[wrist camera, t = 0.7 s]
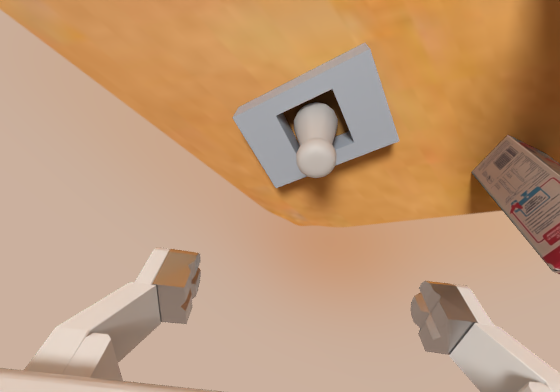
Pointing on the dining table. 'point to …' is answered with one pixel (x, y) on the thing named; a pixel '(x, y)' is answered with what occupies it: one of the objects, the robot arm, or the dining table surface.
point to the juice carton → (526, 193)
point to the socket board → (331, 75)
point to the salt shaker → (316, 139)
